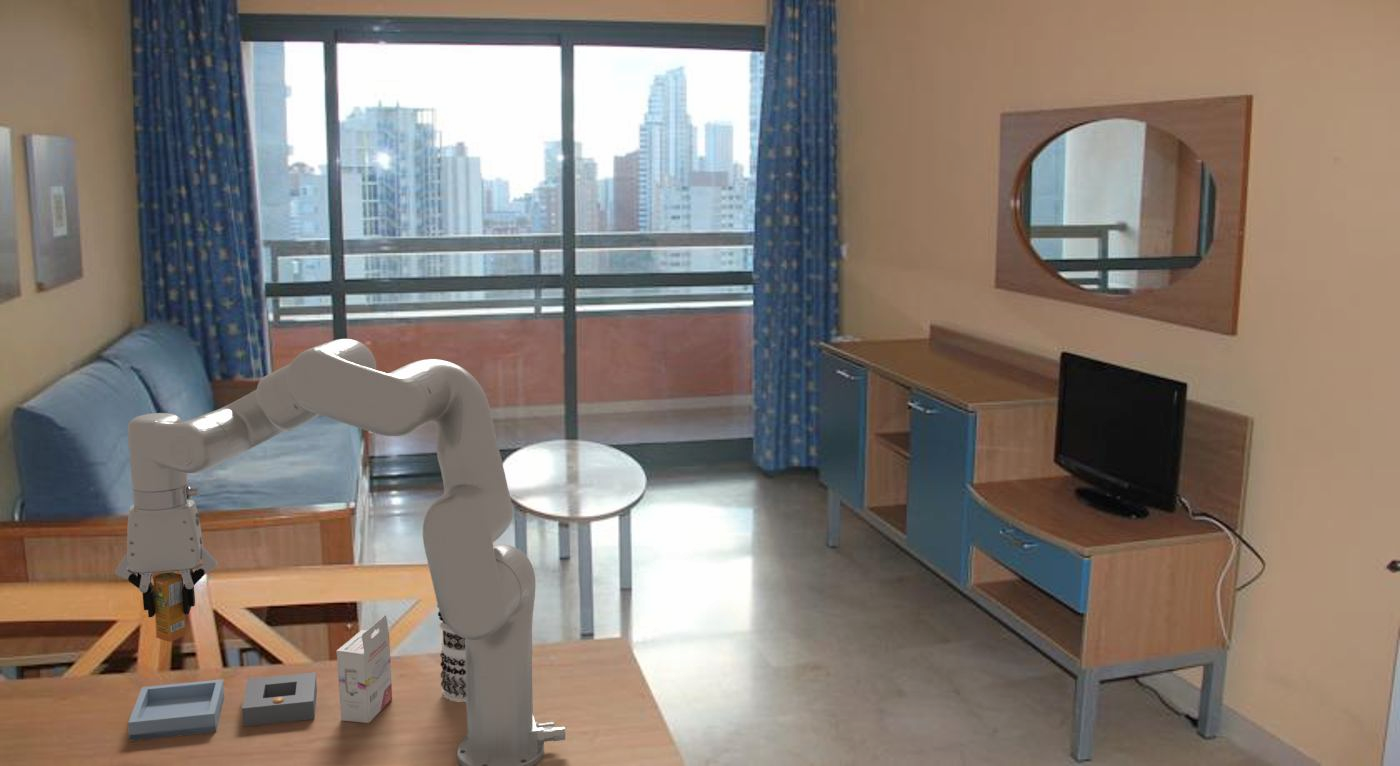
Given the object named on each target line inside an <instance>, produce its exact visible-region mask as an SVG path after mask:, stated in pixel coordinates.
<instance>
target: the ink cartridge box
mask: <svg viewBox="0 0 1400 766" xmlns="http://www.w3.org/2000/svg"><path fill="white" fill-rule="evenodd" d="M388 625H389V624H388V618H387V615H383V616H382V617H380V619H378V620H377V621H376V622H375V623H373V624H372V625H371V626H370V627H369V628H368V629H361V630H360V631H358V632H357V633H356V634H355V635H354V636H352V637H351V638H350V639H349V640H348V641H346V642H345V643H344V644H343V645H342V646H340V647H339V648H338V649H337V650H336V660H337V661H336V663H337V678H338V693H339V709H340V720H341V721H342V722H343V721H344V722H345V721H346V722H354V723H355V722H356V723H364V724H370V723H371V722H372V720H373V719H374V718H375V717H376V716H377V715H378V714H380V712H382V710H383V709H384V708H385V707H386V706H387V705H388V704H389V703H390V702H391V701H392V699H393V689H392V685H393V683H392V669H391V668H392V665H391V645H390V643H391V642H390V632H389V626H388Z"/></svg>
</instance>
